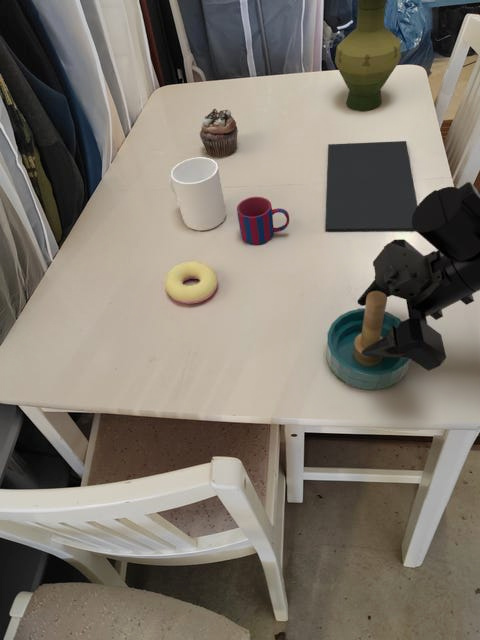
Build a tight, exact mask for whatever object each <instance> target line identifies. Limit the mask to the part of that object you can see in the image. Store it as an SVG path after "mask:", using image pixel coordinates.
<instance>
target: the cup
mask: <svg viewBox="0 0 480 640" xmlns="http://www.w3.org/2000/svg"><path fill="white" fill-rule="evenodd" d="M272 206H273V205H272V203H271V201H270V199H268V198H265V197H264V196H263V197H262V196H251V197H247V198H245V199H243V200H241V201H240V202H239V203H238V204H237V206H236V213H237V219H238V225H239V232H240V238H241V240H242V241H243V242H244V243H245V244H247V245H250V246H260V245H264V244H267V243H268V242H269V241H271V240H272V239H273V237H274V236H275V235H274V234H275V233H279V232H282V231H284V230H285V229H287V227H288V226H289V223H290V215H289V212H288V211H287V210H286V209H284V208H281V207H280V208H273V207H272ZM278 213H281V214H284V216H285V219H286V222H285V223H284V224H283V225H281V226H279V227H274V216H273V215H275V214H278Z"/></svg>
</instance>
